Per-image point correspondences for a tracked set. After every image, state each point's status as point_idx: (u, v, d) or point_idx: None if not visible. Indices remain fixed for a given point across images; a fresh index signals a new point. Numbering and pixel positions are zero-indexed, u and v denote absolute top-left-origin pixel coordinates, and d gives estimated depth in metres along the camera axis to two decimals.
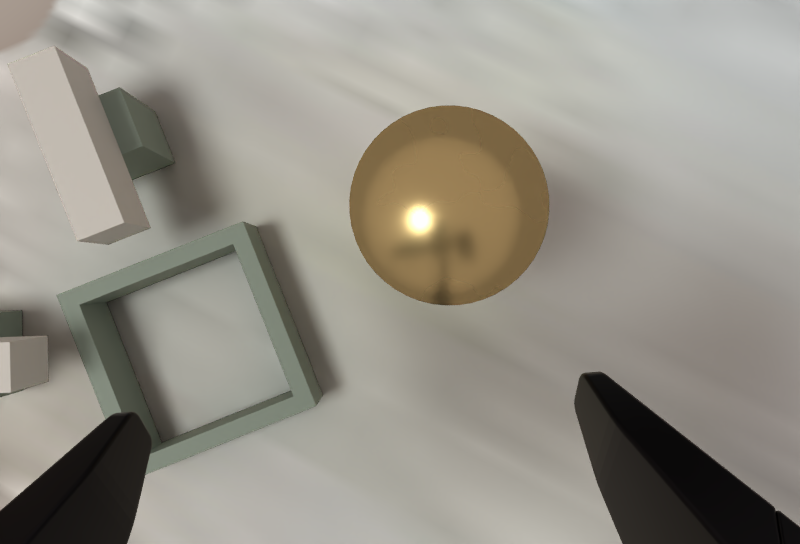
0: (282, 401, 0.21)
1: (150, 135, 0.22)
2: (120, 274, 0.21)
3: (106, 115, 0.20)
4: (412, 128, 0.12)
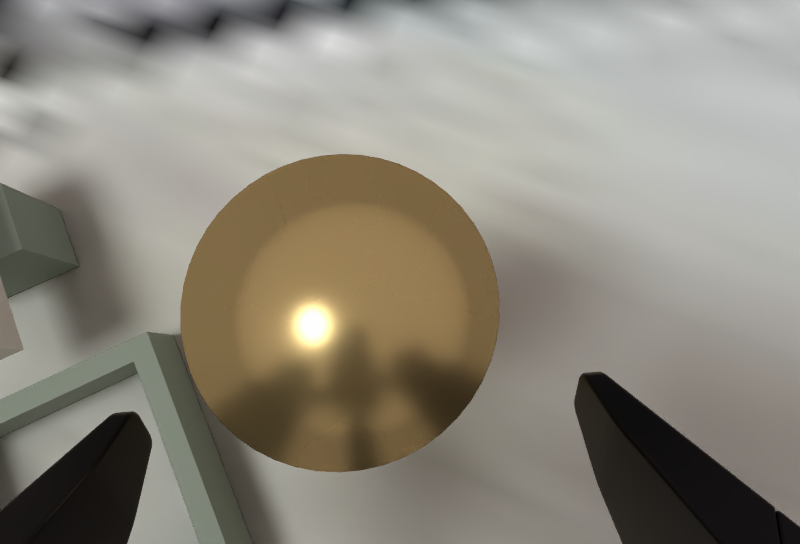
0: None
1: (41, 236, 0.18)
2: None
3: None
4: (279, 191, 0.08)
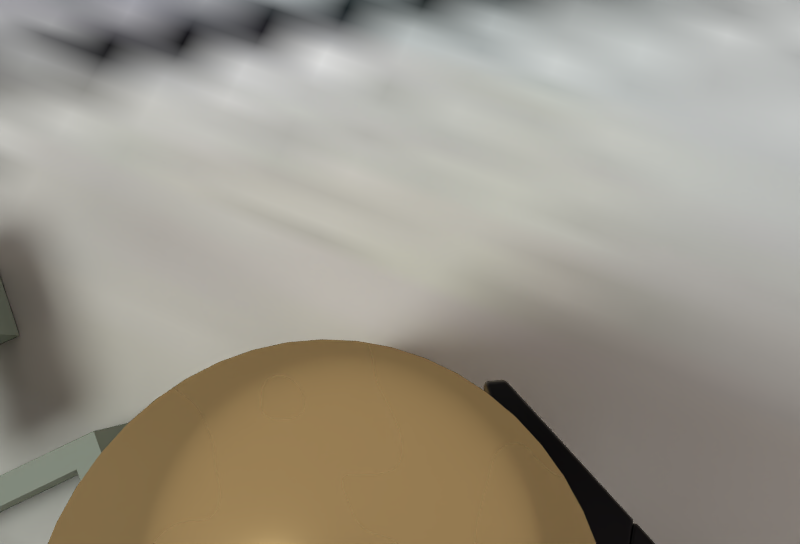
0: None
1: None
2: None
3: None
4: (211, 410, 0.04)
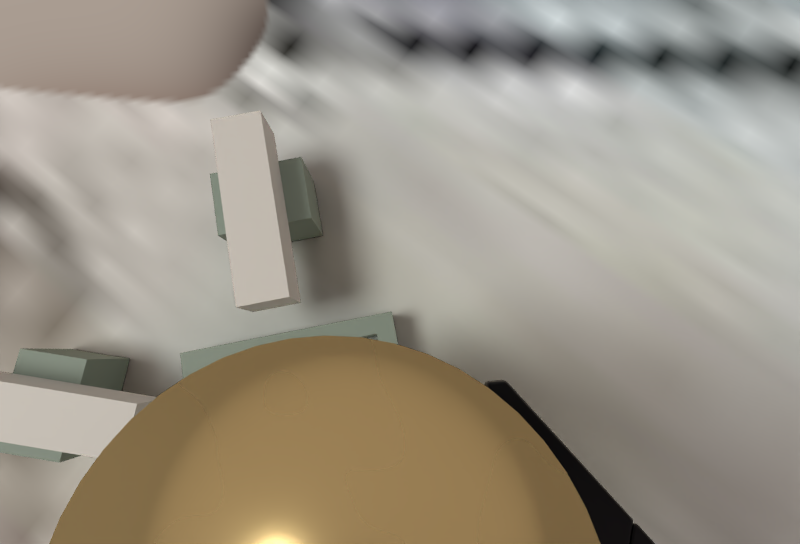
0: None
1: (313, 206, 0.21)
2: (251, 343, 0.20)
3: (281, 182, 0.20)
4: (214, 405, 0.04)
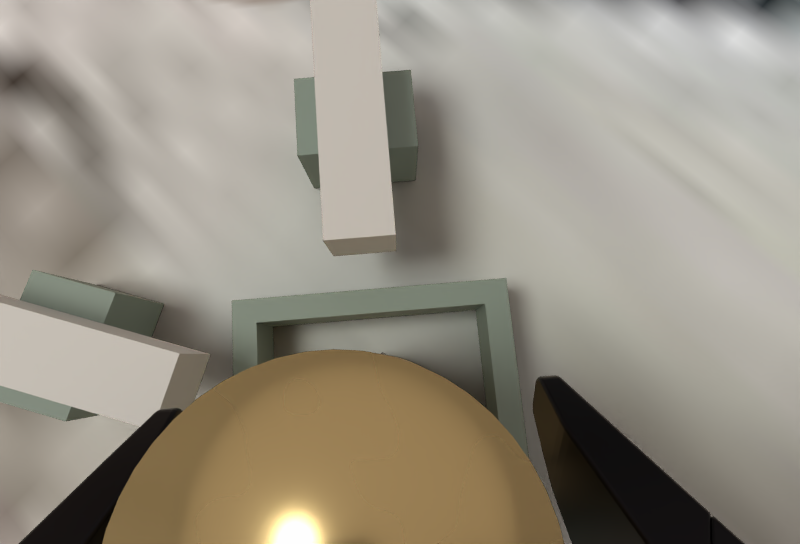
0: None
1: None
2: (323, 298, 0.15)
3: (383, 98, 0.16)
4: (243, 407, 0.05)
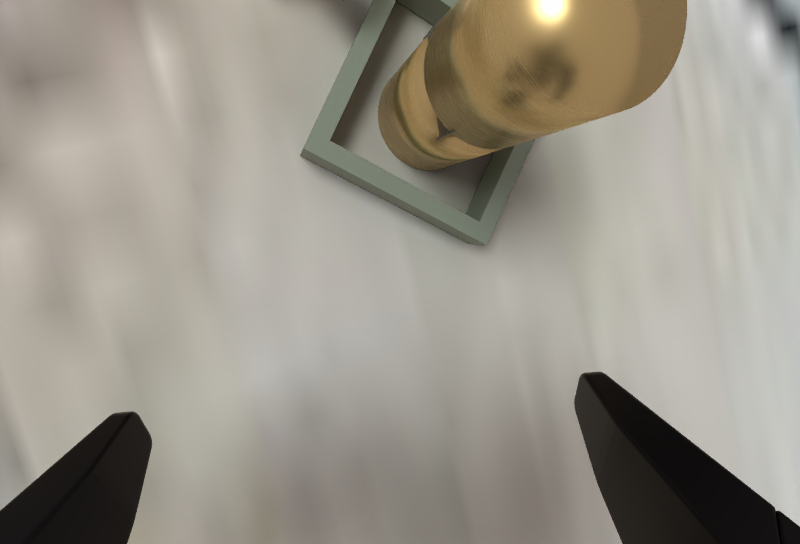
0: (468, 216, 0.21)
1: None
2: None
3: None
4: None
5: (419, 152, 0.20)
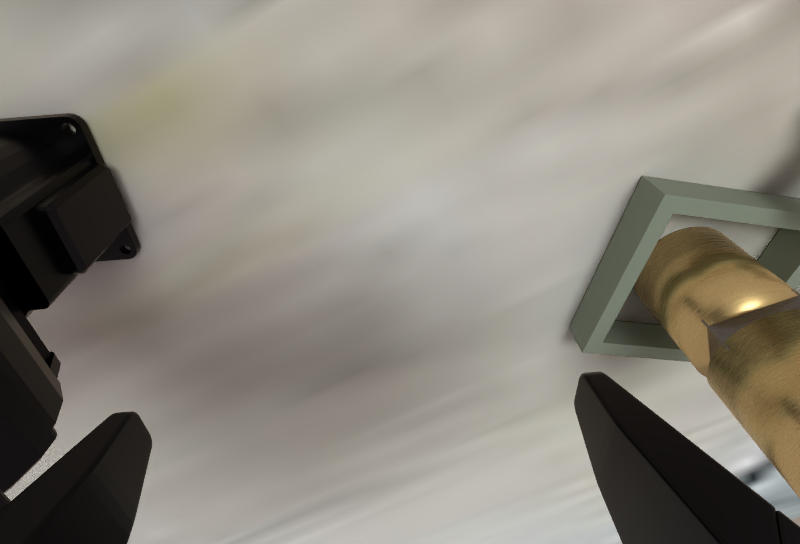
0: (606, 333, 0.24)
1: None
2: None
3: None
4: None
5: (667, 289, 0.22)
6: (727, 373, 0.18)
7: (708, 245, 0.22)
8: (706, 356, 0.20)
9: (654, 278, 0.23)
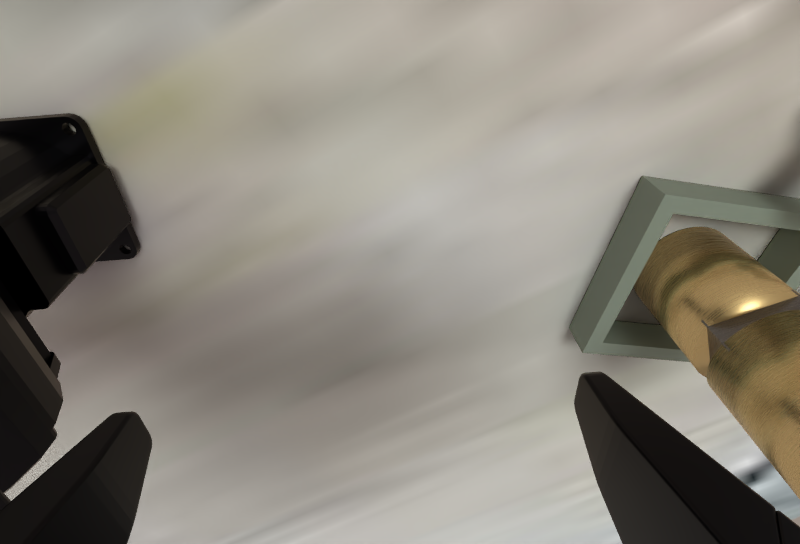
0: (606, 334, 0.24)
1: None
2: None
3: None
4: None
5: (667, 289, 0.22)
6: (727, 373, 0.18)
7: (708, 245, 0.22)
8: (706, 356, 0.20)
9: (654, 278, 0.23)
